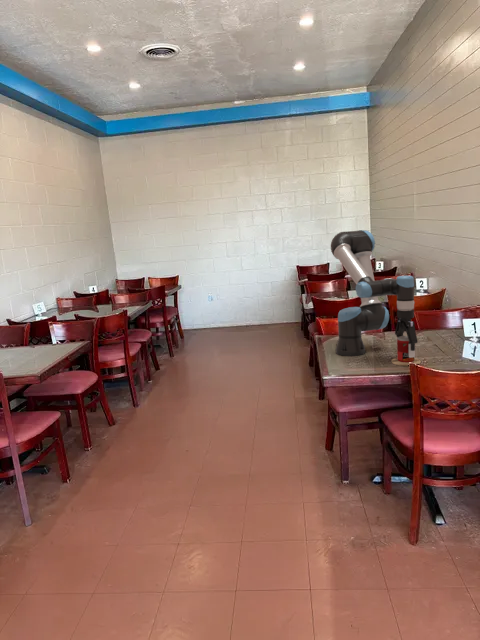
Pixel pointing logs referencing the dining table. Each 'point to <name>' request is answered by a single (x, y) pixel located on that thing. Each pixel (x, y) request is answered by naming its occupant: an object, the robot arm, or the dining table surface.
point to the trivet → (396, 362)
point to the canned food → (403, 349)
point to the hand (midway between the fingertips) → (405, 353)
